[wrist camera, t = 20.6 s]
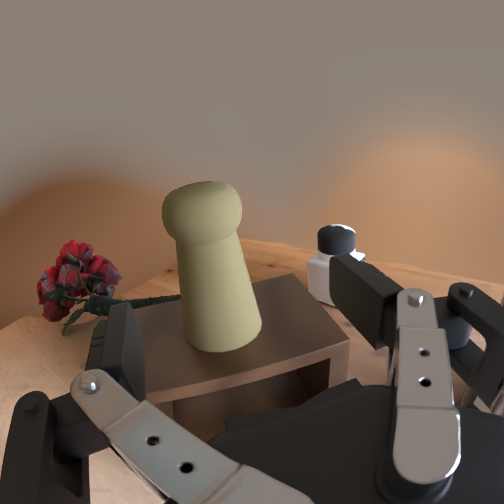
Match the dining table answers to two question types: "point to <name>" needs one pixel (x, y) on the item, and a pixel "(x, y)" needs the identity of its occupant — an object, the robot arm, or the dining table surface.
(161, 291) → the dining table surface
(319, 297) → the medicine bottle
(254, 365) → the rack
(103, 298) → the carnation
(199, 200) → the cork
